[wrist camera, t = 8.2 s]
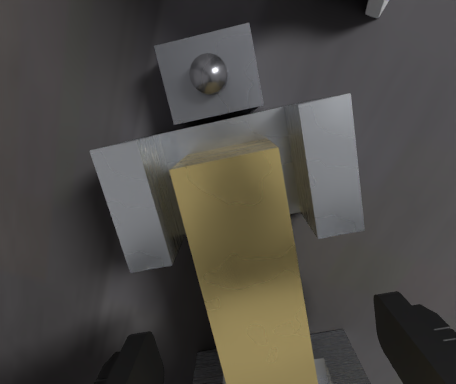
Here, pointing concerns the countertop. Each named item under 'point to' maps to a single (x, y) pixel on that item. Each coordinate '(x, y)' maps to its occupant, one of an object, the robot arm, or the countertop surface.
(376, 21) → the countertop surface
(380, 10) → the white rounded housing
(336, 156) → the linkage with metal pins
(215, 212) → the link bar
